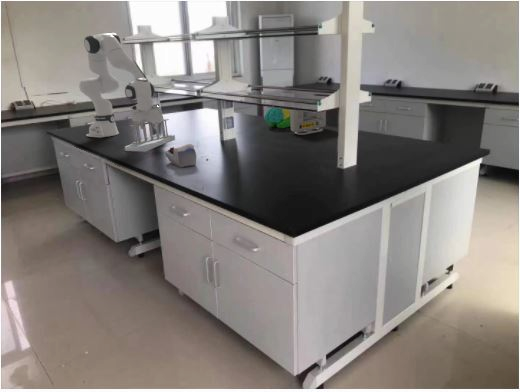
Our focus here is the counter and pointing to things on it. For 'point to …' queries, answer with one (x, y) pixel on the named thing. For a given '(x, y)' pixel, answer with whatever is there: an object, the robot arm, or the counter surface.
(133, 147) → the tray
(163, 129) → the test tube rack
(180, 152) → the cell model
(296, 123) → the network device
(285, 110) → the brain model
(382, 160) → the counter surface
